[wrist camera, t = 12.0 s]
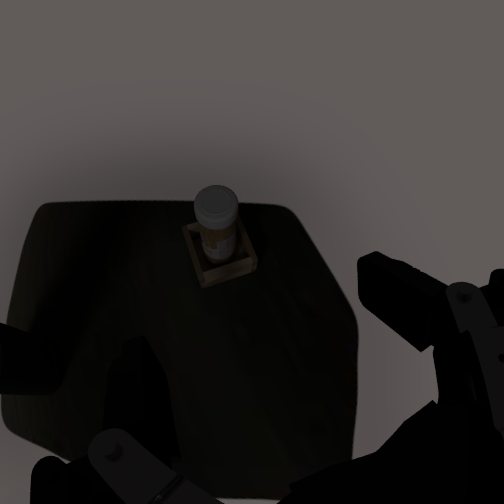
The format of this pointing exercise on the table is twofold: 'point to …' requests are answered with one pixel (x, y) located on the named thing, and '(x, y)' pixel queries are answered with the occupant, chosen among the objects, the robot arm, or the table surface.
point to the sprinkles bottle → (217, 223)
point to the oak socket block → (240, 265)
